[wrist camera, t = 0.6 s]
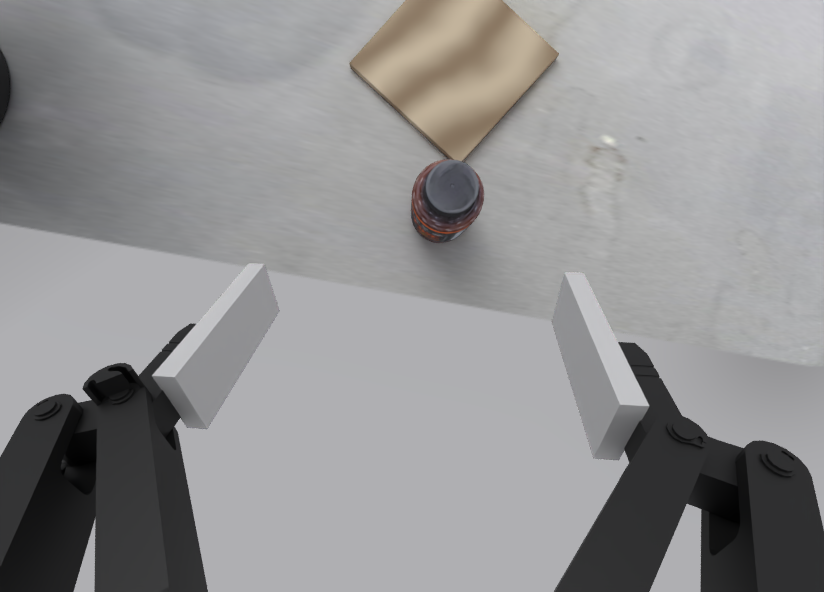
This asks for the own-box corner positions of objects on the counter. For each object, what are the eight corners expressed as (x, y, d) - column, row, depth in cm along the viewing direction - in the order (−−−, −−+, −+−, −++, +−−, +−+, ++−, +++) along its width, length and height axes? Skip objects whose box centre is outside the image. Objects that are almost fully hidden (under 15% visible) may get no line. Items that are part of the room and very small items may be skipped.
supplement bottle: (399, 222, 38) (394, 194, 27) (433, 175, 38) (442, 127, 27) (446, 255, 38) (460, 242, 27) (479, 209, 38) (508, 175, 27)
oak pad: (350, 67, 38) (349, 63, 37) (448, -42, 38) (449, -49, 37) (457, 166, 38) (458, 164, 37) (555, 58, 38) (559, 53, 37)
